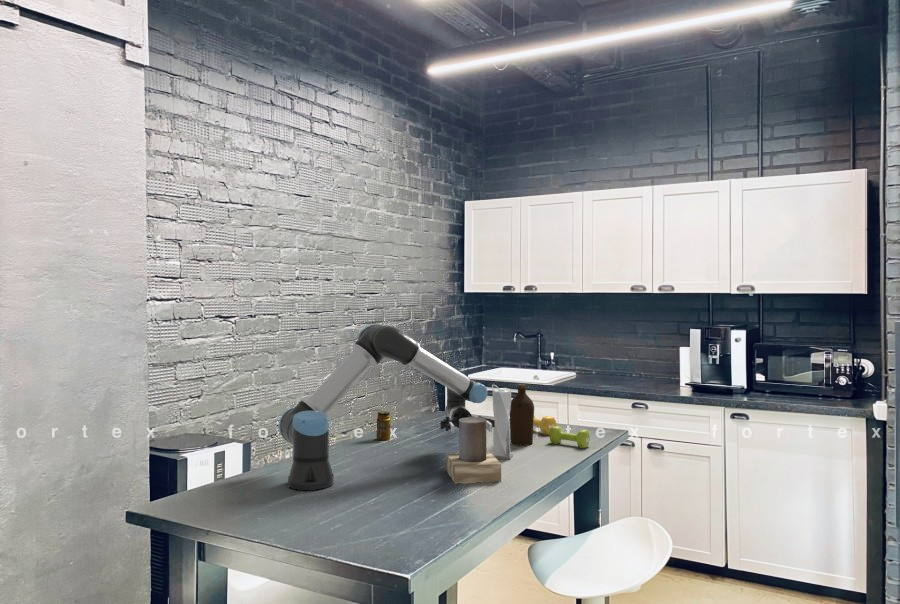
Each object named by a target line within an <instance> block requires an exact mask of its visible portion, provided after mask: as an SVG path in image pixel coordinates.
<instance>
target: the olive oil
mask: <svg viewBox="0 0 900 604" xmlns="http://www.w3.org/2000/svg"><path fill="white" fill-rule="evenodd" d="M517 386H518V387H517V394H516V395H515V396H513V398H511V408H510V415H509V426H510V444H511V443H512V445H514V446H515V445H516V446H530V445H532V444H533V442H534V441H533V439H534V426H533V422H534V416H535V405H534V402H533V400H532V399H531V398H530V397H529V395H528V394H527V391H526V389H527V388H526V386H527V385H526V384H525V383H518V384H517Z"/></svg>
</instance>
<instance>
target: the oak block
mask: <svg viewBox="0 0 900 604" xmlns="http://www.w3.org/2000/svg"><path fill="white" fill-rule="evenodd" d="M445 456H446V463H445V464H446V465H445V467H446V469H445V470H446V472H447V474H448V475H449V478H452V479H451V480H452V482H453V481H454V482H453V483H454V484H455V485H457V483H462V484H475V483H476V482H481V483H496V482H495V481H500V482H502V462H500V461H499V459H496V458H495V457H494V456H493V454H492V453H491V452H490V451H487V452H486V458H487V459H486V460H484V461H479V462H466V461H462V460H461V459H459V453H446V455H445ZM476 484H477V483H476Z"/></svg>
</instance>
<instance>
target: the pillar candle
mask: <svg viewBox="0 0 900 604" xmlns="http://www.w3.org/2000/svg"><path fill="white" fill-rule="evenodd" d="M484 418H485V417H484ZM484 418H479V417H478V416H477V417H476V416H474V417H467V418H461V419H459V428H458V438H459V439H458V450H459V459H461V460H462V461H466V462H479V461H484V460H486V459H487V458H486V452H488V451H487V429H486V419H484Z"/></svg>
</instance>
